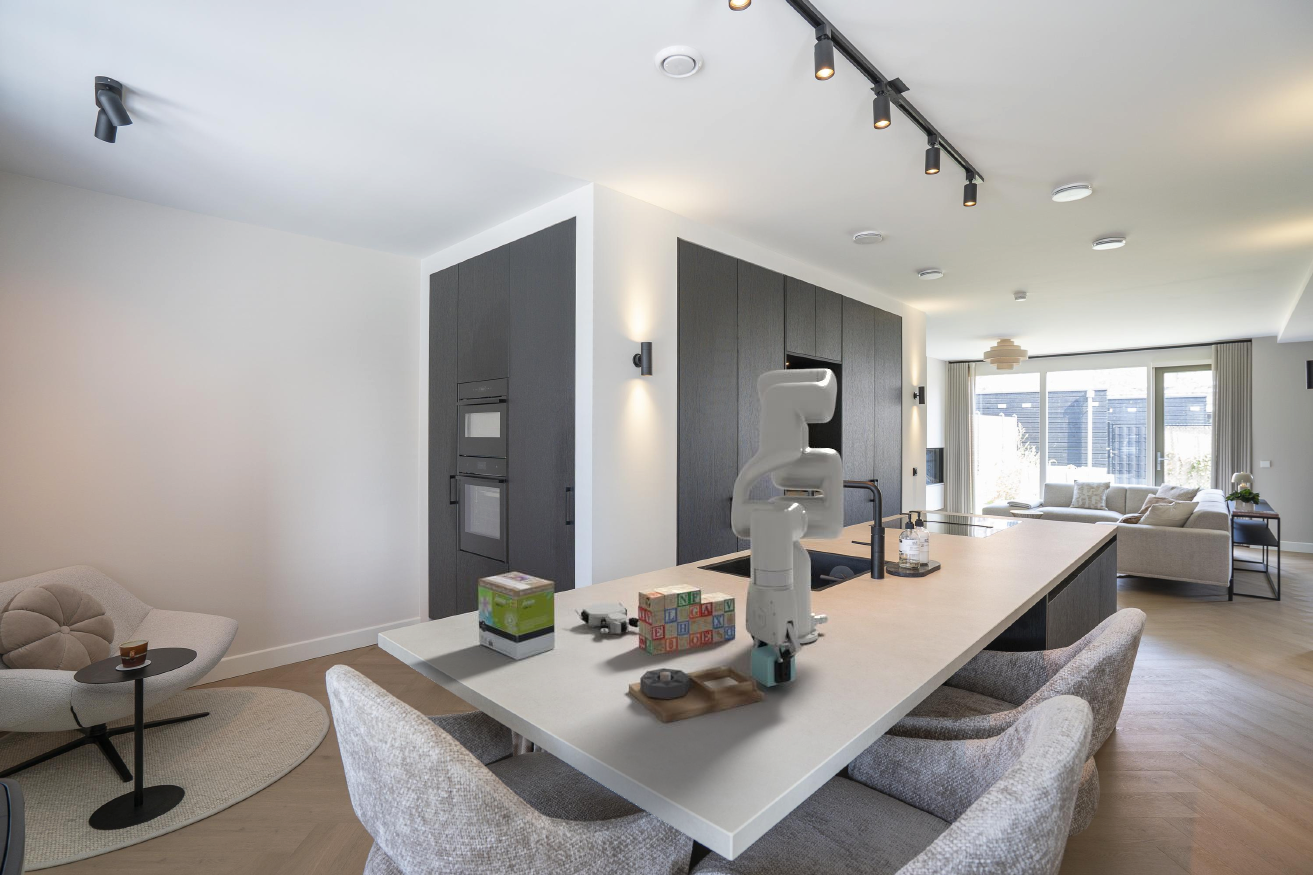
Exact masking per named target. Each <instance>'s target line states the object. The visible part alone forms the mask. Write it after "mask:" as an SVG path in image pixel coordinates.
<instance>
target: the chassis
mask: <svg viewBox="0 0 1313 875" xmlns="http://www.w3.org/2000/svg"><path fill="white" fill-rule="evenodd" d="M685 673H686V674H687V675H689V676H690V689H689V691H688V692H687V693H686V695H685V696H680V697H676V698H671V699H662V698H655V697H648V696H647V695H646V694H645V693H644V692H643V691H641V690H640V682H636V683H631V684H628V692H629V693H630V694H631V695H633V696H634V698H636V699H637V700H638V701H639V702H640V703H641V704H643V705H644V706H645V707H646V708H647V709H649V711H650V712H652V713H653V714H654V715H655V716H656V717H657V718H658V719H659V720H661V721H662V722H663V723H664V724H665V723H670V722H675V721H679V720H683V719H687V718H692V717H696V716H701V715H704V714H709V713H714V712H717V711H721V710H722V711H723V710H725V709H726V710H727V709H730V708H734V707H739V706H743V705H747V704H752V703H757V702H761V701H764V692H763V691H761V690H759V689H757V681H755V680H753V679H752V678H750V677H749V676H746V674H744V673H742V672H740V671H739V670H737V669H735V668H733V667H732V666H727V667H723V668H722V667H721V666H716V667H712V668H707V669H706V668H705V669H702V670H696V671H691V672H685ZM660 680H662V681H668V680H671V674H670V672H661V673H660Z"/></svg>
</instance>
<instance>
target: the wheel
mask: <svg viewBox="0 0 1313 875" xmlns="http://www.w3.org/2000/svg"><path fill="white" fill-rule="evenodd" d="M661 672H670V674H671V680H668V681H662V680H660V673H661ZM686 673H687V672H684V671H683V670H682V669H681V670H680V669H673V668H665V667H664V668H658V669H653V670H647V671H646V672H645V673H644V674H643V675H641V677H640V680H639V681H640V690H641V691H643V692H644V693H645V694H646V695H647V696H648V697H655V698H662V699H671V698H676V697H680V696H685V695H686V693H687V692H688V691H689V689H690V676H689V675H687V674H686Z"/></svg>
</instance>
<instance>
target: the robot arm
mask: <svg viewBox="0 0 1313 875" xmlns="http://www.w3.org/2000/svg"><path fill="white" fill-rule="evenodd" d="M756 388H757V393H758V398H759V400H760V405H761V412H760V413H761V414H760V428H759V429H760V430H759V441H758V442H759V445H758V451H757V453H756V454H754V456H753V457H752V458H750V459H749V460H748V461H747V463H745V465H744V466H743V467H742V469H741V471H740V472H739V473H738V476H737V478H736V479H735V483H734V486H733V491H732V502H731V512H730V513H731V514H730V516H731V517H730V520H731V521H730V522H731V523H730V524H731V529H732V531H733V533H734V535H735V536H736V537H737V538H740V539H743V540H750V580H749V582H748V587H747V593H746V603H745V605H746V606H745V630H746V631H747V633H748V634H750V636H751V639H752V641H753V644H752V646H753V649H755V648H760V647H764V646H769V645H771V646H774V647H775V652H776V658H777V661H774V669H775V683H777V685H781V684H784V682H785V683H788V681H789V682H791V681H790V680H791V660H793V657H794V656H795V657H796V655H797V653H799V652H801V650H802V645H801V644H808V643H812V642H814V641H816V640H817V639H818V638H819V631H818V630H817V629H816V627H817V625H823V624H827V623H828V619H829V618H828V616H827V615H826V614H820V615H817V616H816V615H815V614H814V613H812V596H811V595H812V592H811V589H812V588H811V587H812V586H811V585H812V582H811V581H812V580H811V579H812V576H811V573H812V570H811V566H812V565H811V564H812V563H811V562H812V561H811V557H810V554H809V553H808V551H807V549H806V548H805V547H804V545H803V544H802V543H801V541H799V540H824V541H825V540H829V541H830V540H831V541H832V540H836V539H838V538H840V536H841V535H842V533H843V529H844V472H843V471H844V470H843V468H844V467H843V462H842V458H841V455H840V453H839V452H838V451H837V450H835V449H832V448H821V447H819V448H818V447H817V448H815V447H814V448H813V447H812V448H811V447H810V446H809V426H808V424H817V423H818V424H821V423H822V424H824V423H825V424H826V423H828V422H829V421H831V420H832V418H833V416H834V413H835V410H836V409H835V408H836V401H837V393H838V383H837V378H836V376H835V373H834V372H833V370H831V369H828V368H804V369H803V368H802V369H801V368H800V369H799V368H797V369H777V370H771V371H767V372H764V373H762V374H760V376H759V377H758V379H757V385H756ZM769 474H770V479H771V482H772V484H773V486H774V487H776V488H778V489H780V490H781V489H782V490H792V491H797V490H798V491H818V492H820V493H821V494H822V496H814V495H813V496H809V495H808V496H807V495H806V496H805V495H778V496H773V497H771V498H769V499H768V500H752V499H751V500H749V494H750V491H751V490H752V488H753V486H754V485H755V484H756V483H757V482H758V481H760V480H761V479H762V478H764V477H766V476H768V475H769ZM782 646H783V647H785V650H784V651H783V652H782V650H781V647H782ZM780 683H781V684H780Z"/></svg>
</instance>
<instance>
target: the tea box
mask: <svg viewBox="0 0 1313 875" xmlns="http://www.w3.org/2000/svg"><path fill="white" fill-rule="evenodd" d="M477 581H478V582H477V584H478V585H477V590H478V591H477V592H478V602H477V604H478V643H479V645H483V646H485V647H488V648H490V649H492V650H493V651H497V652H499V653H501V654H504V655H505V656H508V657H510V658H511V659H514V660H516V661H520V660H524V659H526V657H527V658H530V657H533V656H536V655H539V654H542V653H545V652H547V651H551V650H553V649H555V646H556V645H555V641H556V640H555V639H556V638H555V637H556V636H555V635H556V634H555V582H554V581H552V580H547V579H543V578H540V577H536V576H532V575H529V574H526V573H525V574H524V573H522V572H518V571H511V572H505V573H502V574H498V575H494V576H493V575H492V576H489V577H488V576H487V577H483V578H478V580H477ZM519 659H520V660H519Z"/></svg>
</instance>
